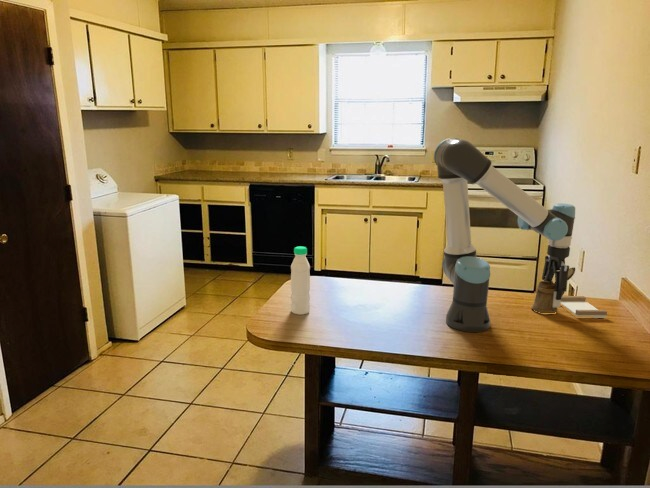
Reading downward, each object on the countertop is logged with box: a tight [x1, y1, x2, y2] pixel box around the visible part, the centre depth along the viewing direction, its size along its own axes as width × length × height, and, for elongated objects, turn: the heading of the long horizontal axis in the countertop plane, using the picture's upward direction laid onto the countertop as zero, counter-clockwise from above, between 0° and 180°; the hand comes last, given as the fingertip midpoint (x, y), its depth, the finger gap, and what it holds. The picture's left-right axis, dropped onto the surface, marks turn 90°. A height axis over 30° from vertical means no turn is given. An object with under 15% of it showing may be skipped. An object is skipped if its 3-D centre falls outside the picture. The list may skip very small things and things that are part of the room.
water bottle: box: [290, 245, 311, 315], centre depth 181 cm, size 7×7×25 cm
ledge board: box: [560, 295, 608, 319], centre depth 190 cm, size 11×16×3 cm
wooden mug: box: [531, 266, 576, 313], centre depth 187 cm, size 9×14×18 cm, turn 84°
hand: (551, 303), depth 189 cm, fingers closed on wooden mug, 7 cm apart
